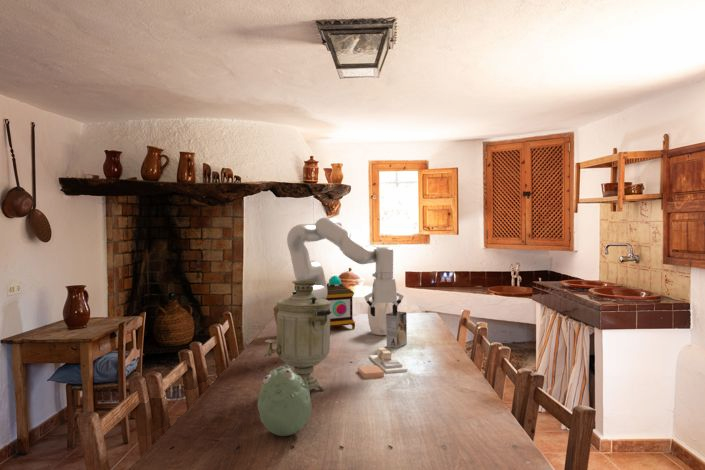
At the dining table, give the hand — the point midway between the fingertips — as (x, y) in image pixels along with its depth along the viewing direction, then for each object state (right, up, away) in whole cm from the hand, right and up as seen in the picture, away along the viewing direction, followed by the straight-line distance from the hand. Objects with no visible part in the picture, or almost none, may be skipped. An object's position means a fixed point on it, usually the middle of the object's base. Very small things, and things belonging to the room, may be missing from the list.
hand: (383, 315), depth 226 cm
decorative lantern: (-23, -19, +73) cm, 79 cm away
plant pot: (-48, -19, +53) cm, 74 cm away
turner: (+1, -20, -1) cm, 20 cm away
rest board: (+1, -21, -1) cm, 21 cm away
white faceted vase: (+3, -19, +56) cm, 59 cm away
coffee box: (+8, -20, +31) cm, 38 cm away
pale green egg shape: (-33, -24, -73) cm, 83 cm away
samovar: (-34, -22, -35) cm, 54 cm away
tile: (-7, -20, -10) cm, 24 cm away
